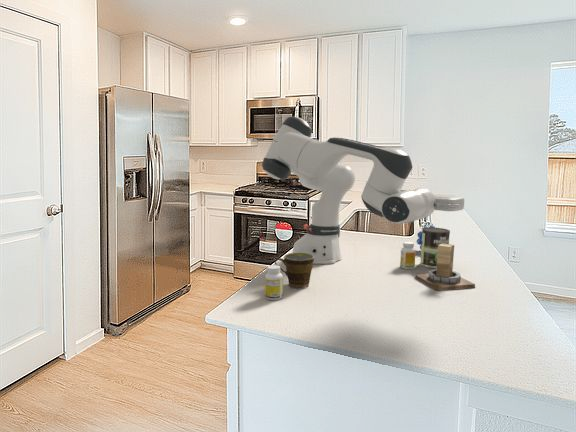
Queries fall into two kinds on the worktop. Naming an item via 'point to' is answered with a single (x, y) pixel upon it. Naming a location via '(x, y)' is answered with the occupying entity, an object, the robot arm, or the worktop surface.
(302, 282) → the ceramic cup
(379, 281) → the worktop surface
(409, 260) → the supplement bottle
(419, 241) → the grapes
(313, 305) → the worktop surface
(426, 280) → the walnut board
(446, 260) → the oak post
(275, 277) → the supplement bottle
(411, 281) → the worktop surface
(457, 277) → the grey stone ring
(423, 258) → the coffee can
